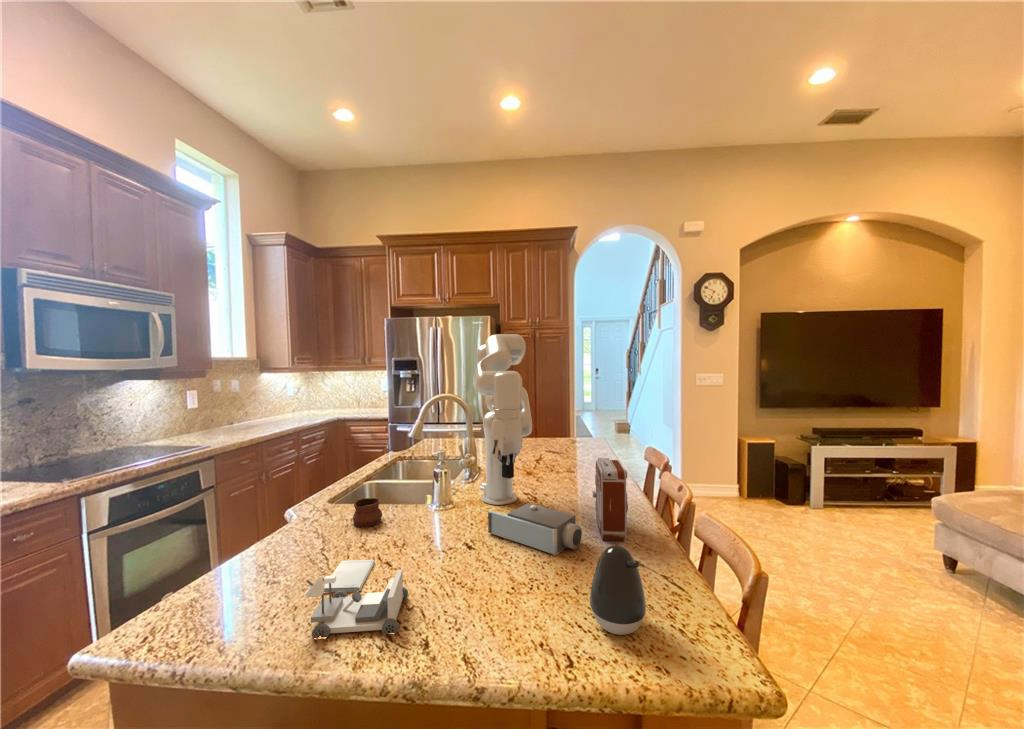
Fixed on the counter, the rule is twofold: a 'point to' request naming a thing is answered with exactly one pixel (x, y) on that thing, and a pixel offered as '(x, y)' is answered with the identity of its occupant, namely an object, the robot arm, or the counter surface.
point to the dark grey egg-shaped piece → (617, 592)
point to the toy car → (357, 608)
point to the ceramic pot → (367, 512)
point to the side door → (523, 532)
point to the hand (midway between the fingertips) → (507, 477)
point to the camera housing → (552, 523)
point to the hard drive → (350, 575)
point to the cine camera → (611, 499)
